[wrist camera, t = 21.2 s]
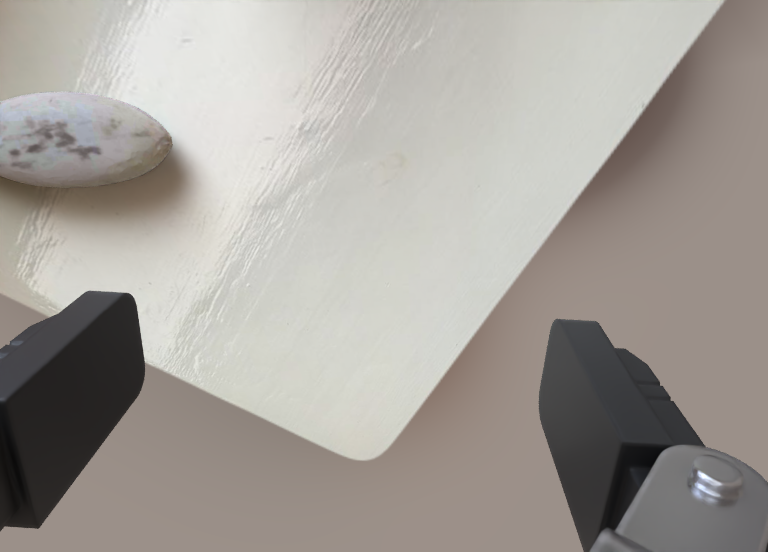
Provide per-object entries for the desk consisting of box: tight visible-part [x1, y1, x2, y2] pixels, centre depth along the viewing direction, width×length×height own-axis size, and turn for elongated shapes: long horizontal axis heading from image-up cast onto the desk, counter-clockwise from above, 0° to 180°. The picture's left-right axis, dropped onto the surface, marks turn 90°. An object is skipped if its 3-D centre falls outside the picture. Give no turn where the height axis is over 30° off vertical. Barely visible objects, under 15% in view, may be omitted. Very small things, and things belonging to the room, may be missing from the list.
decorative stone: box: [0, 92, 172, 188], centre depth 37 cm, size 6×16×3 cm, turn 94°
